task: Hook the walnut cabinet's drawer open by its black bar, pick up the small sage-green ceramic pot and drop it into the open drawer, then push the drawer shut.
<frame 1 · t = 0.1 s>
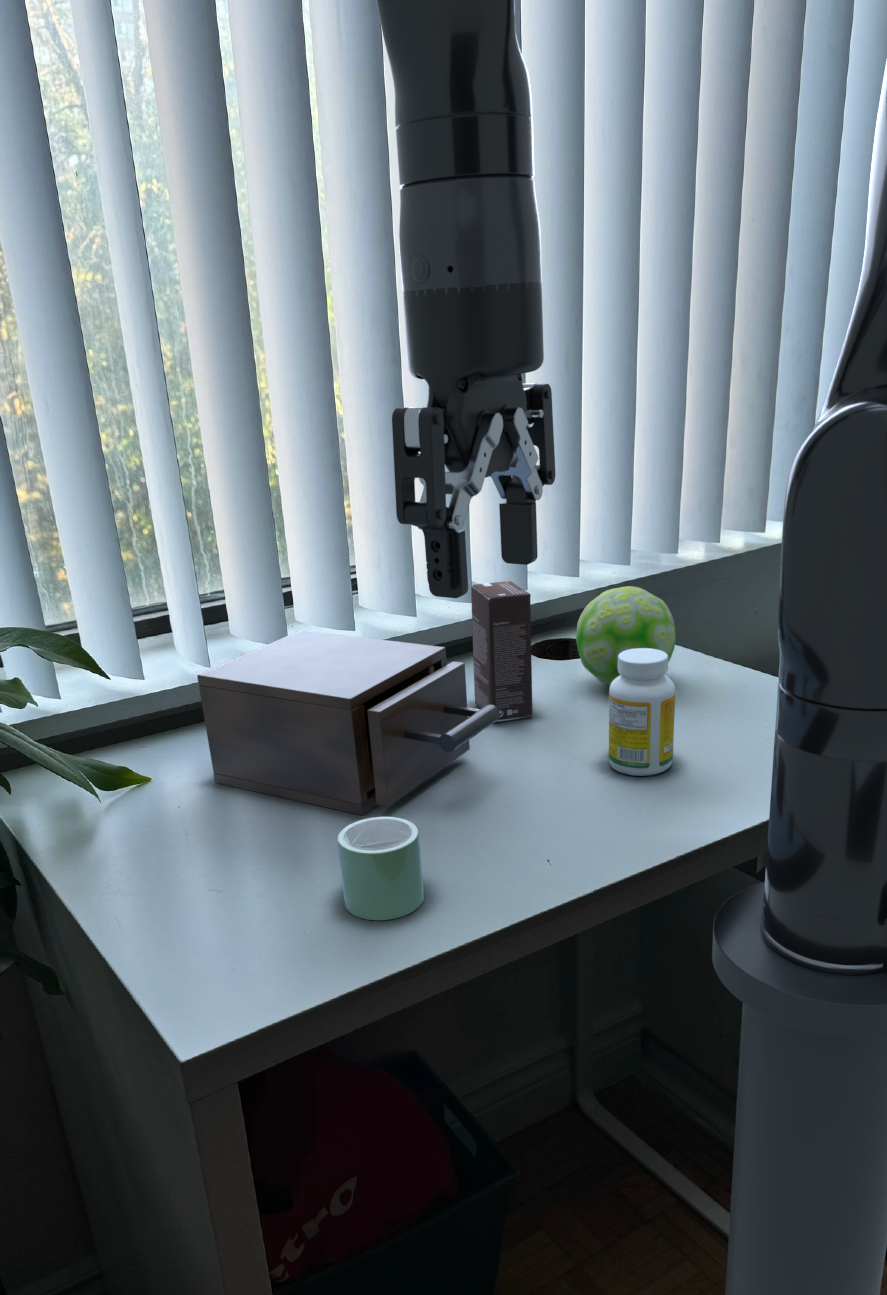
hand: (486, 578, 65), 21 cm above the table, tool pointing down, fingers open, 8 cm apart
box: (504, 712, 105), on the table
pot: (384, 899, 73), on the table
decorative ball: (626, 687, 109), on the table
supplement bottle: (640, 766, 91), on the table
drawer: (378, 723, 90), point 5 cm above the table, slide at 1.0 cm
cabinet: (335, 767, 95), on the table
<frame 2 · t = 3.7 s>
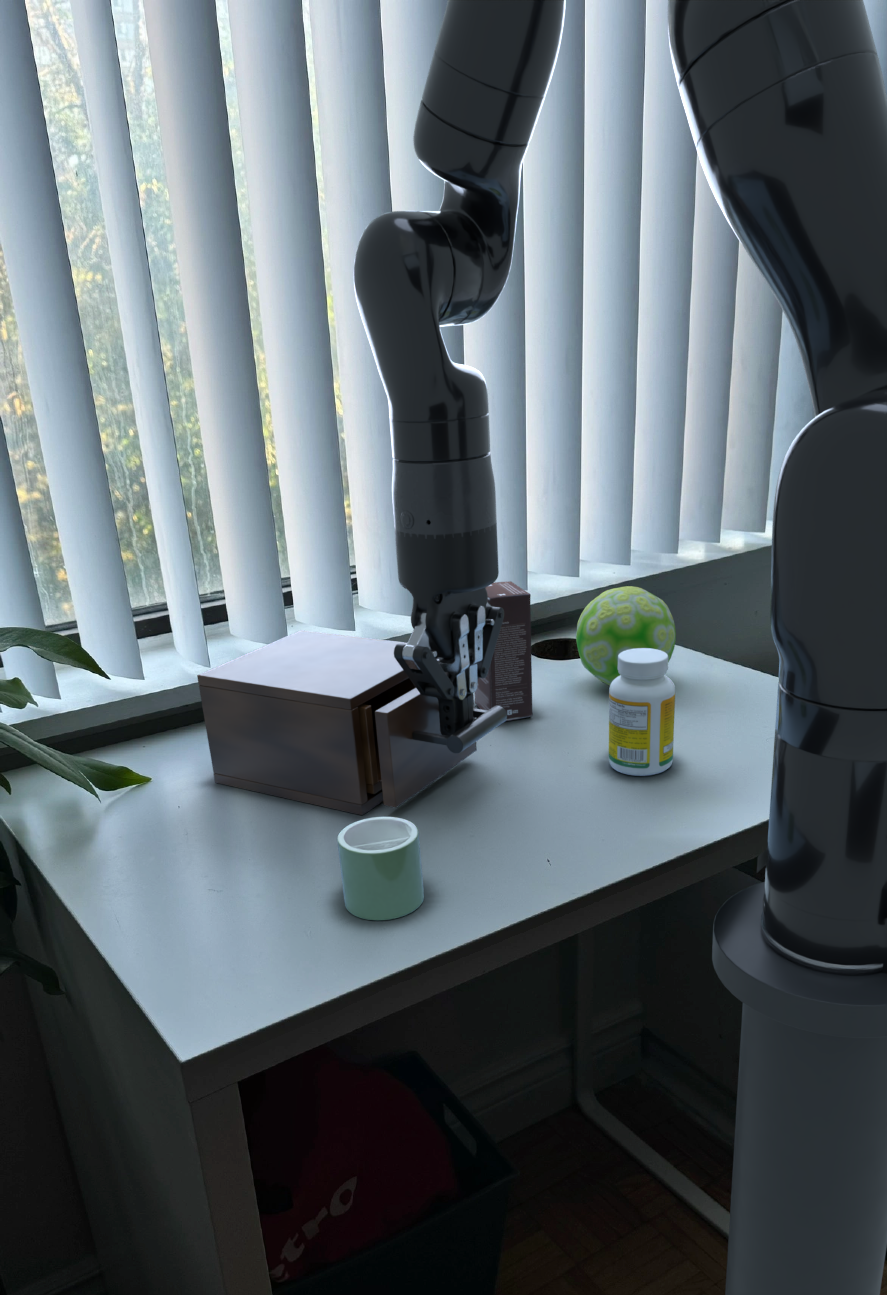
hand: (458, 738, 86), 5 cm above the table, tool pointing down, fingers closed
drawer: (385, 724, 90), point 5 cm above the table, slide at 1.7 cm
everything else where it was.
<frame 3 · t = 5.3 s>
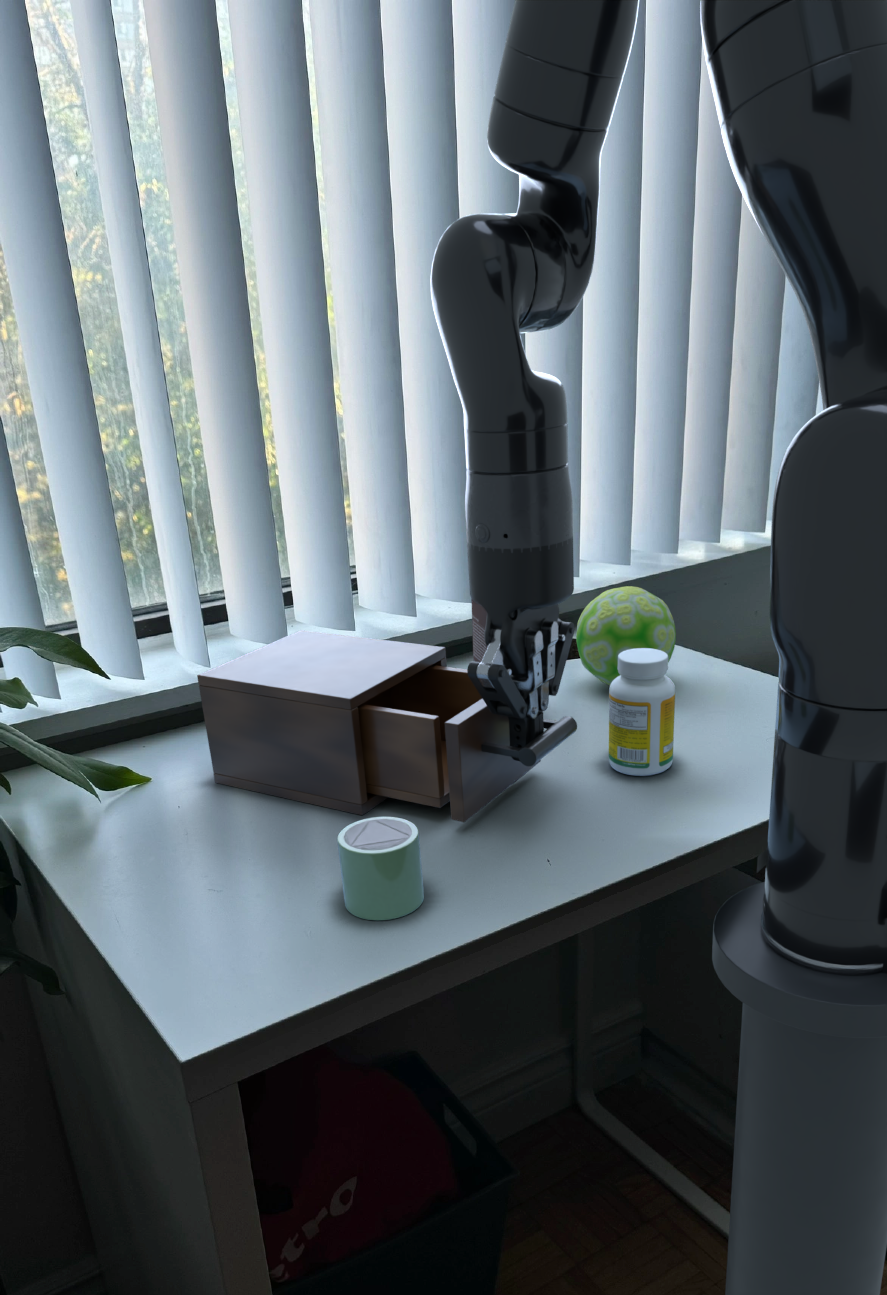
hand: (527, 758, 83), 4 cm above the table, tool pointing down, fingers closed
drawer: (449, 735, 86), point 5 cm above the table, slide at 7.9 cm
everything else where it was.
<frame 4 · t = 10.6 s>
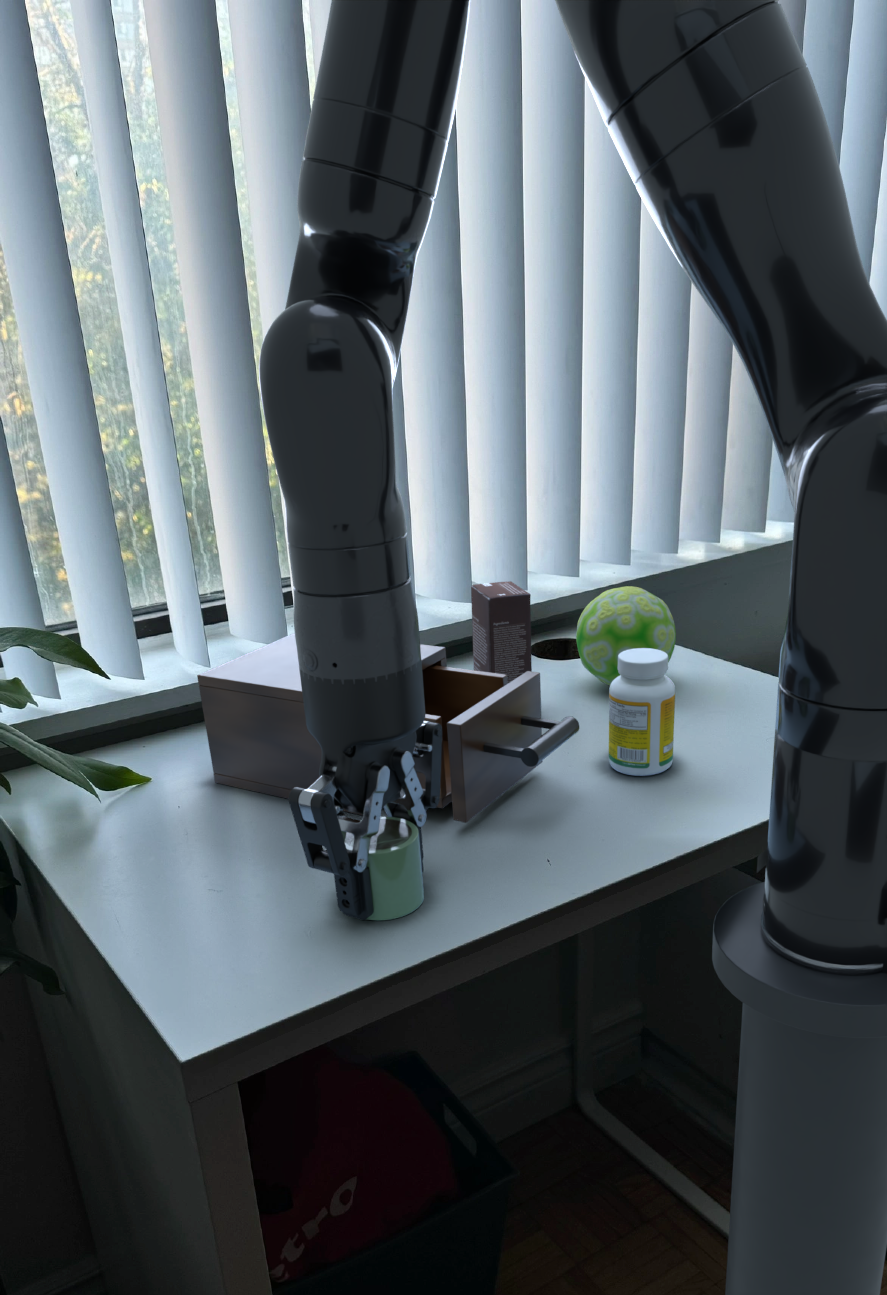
hand: (383, 893, 73), 0 cm above the table, tool pointing down, fingers closed on pot, 5 cm apart
pot: (384, 899, 73), on the table, touching gripper
everything else where it was.
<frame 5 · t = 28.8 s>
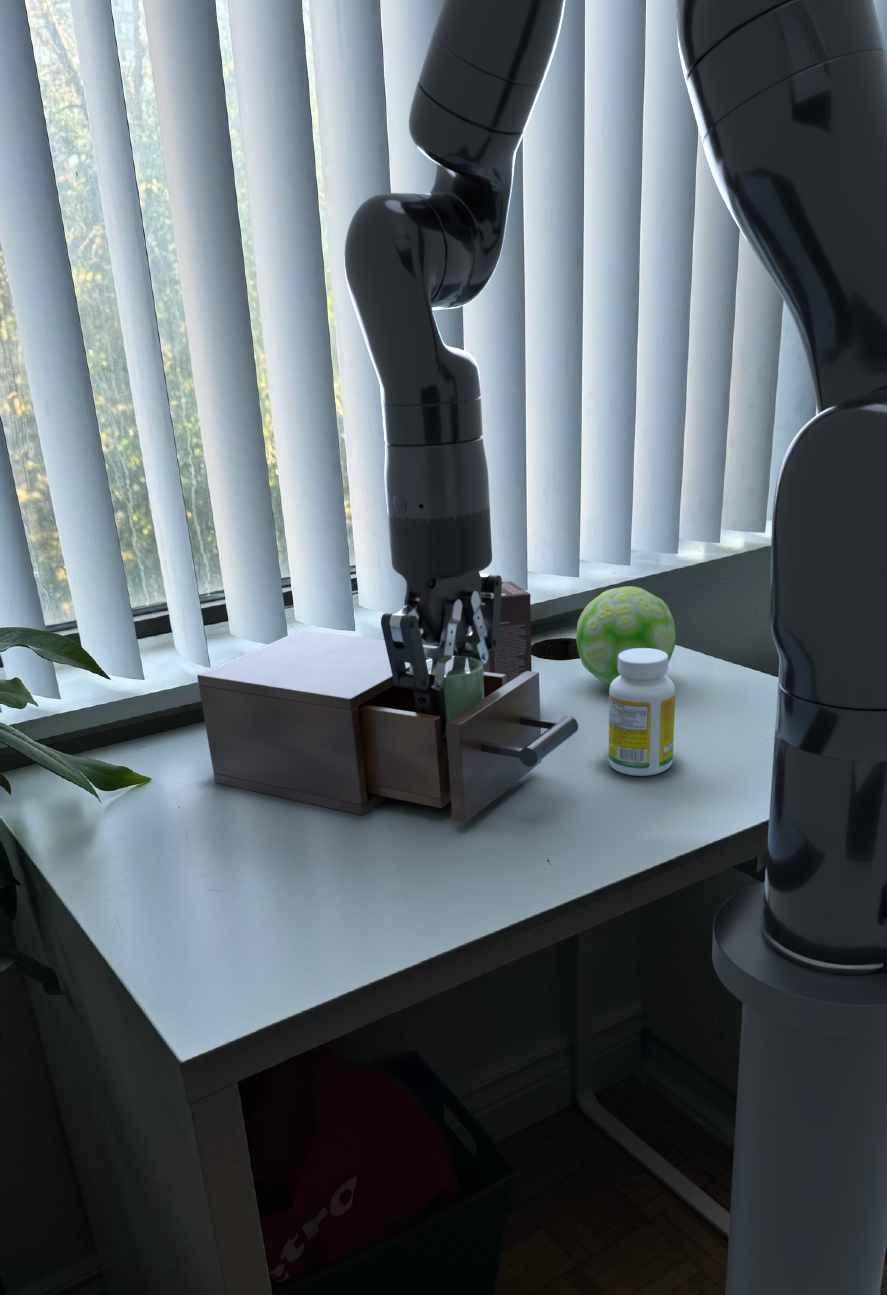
hand: (452, 719, 86), 6 cm above the table, tool pointing down, fingers closed on pot, 5 cm apart
pot: (452, 726, 86), point 6 cm above the table, touching gripper
everything else where it was.
when the fingers open (9 cm above the table, at t = 31.7 s): pot drops 6 cm, resting on drawer.
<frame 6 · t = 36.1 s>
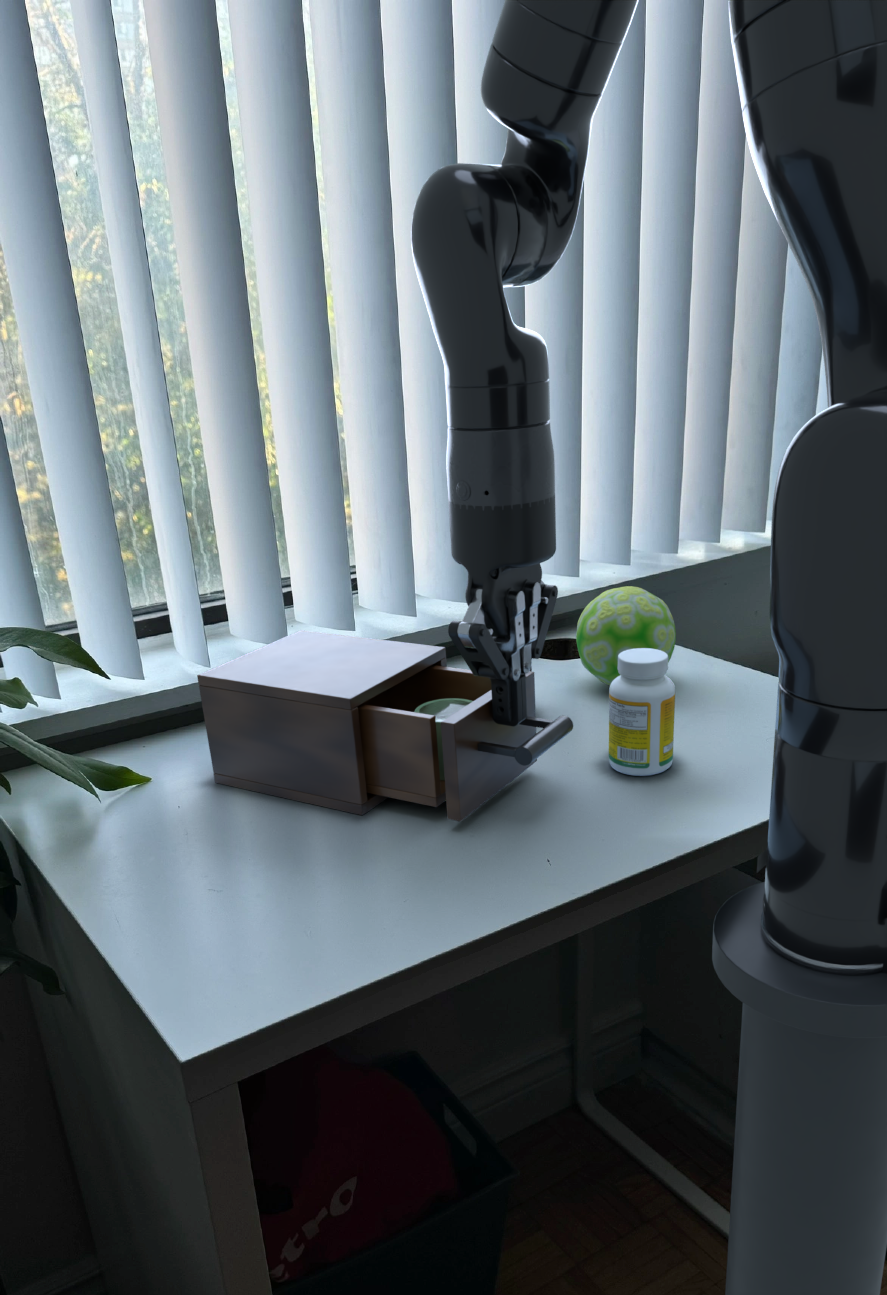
hand: (510, 721, 83), 7 cm above the table, tool pointing down, fingers closed
pot: (451, 767, 88), point 2 cm above the table, touching drawer
drawer: (445, 735, 87), point 5 cm above the table, slide at 7.6 cm, touching gripper, pot
everything else where it was.
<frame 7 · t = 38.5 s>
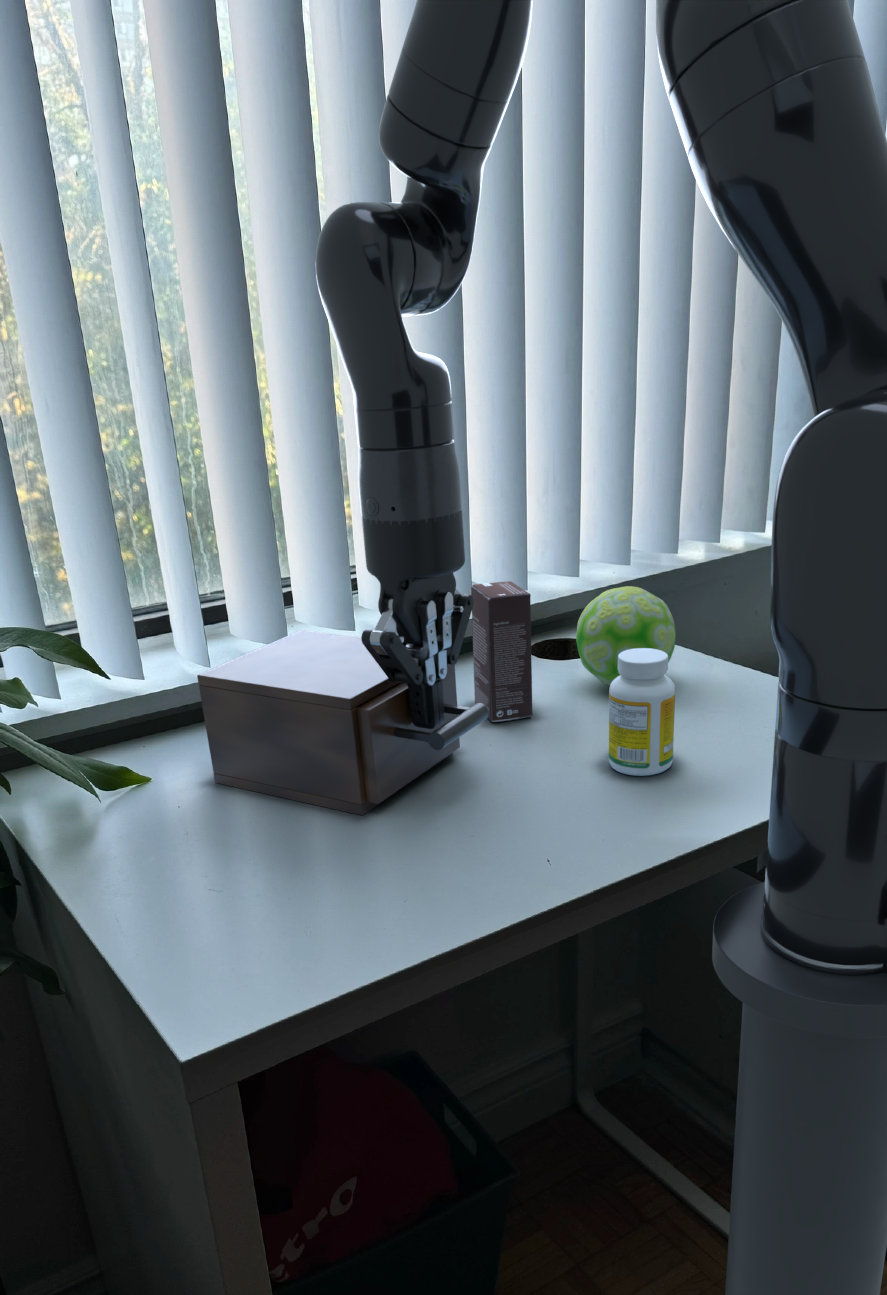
hand: (428, 724, 87), 6 cm above the table, tool pointing down, fingers closed
pot: (375, 753, 91), point 2 cm above the table, touching drawer
drawer: (368, 722, 90), point 5 cm above the table, slide at 0.0 cm, touching cabinet, pot
everything else where it was.
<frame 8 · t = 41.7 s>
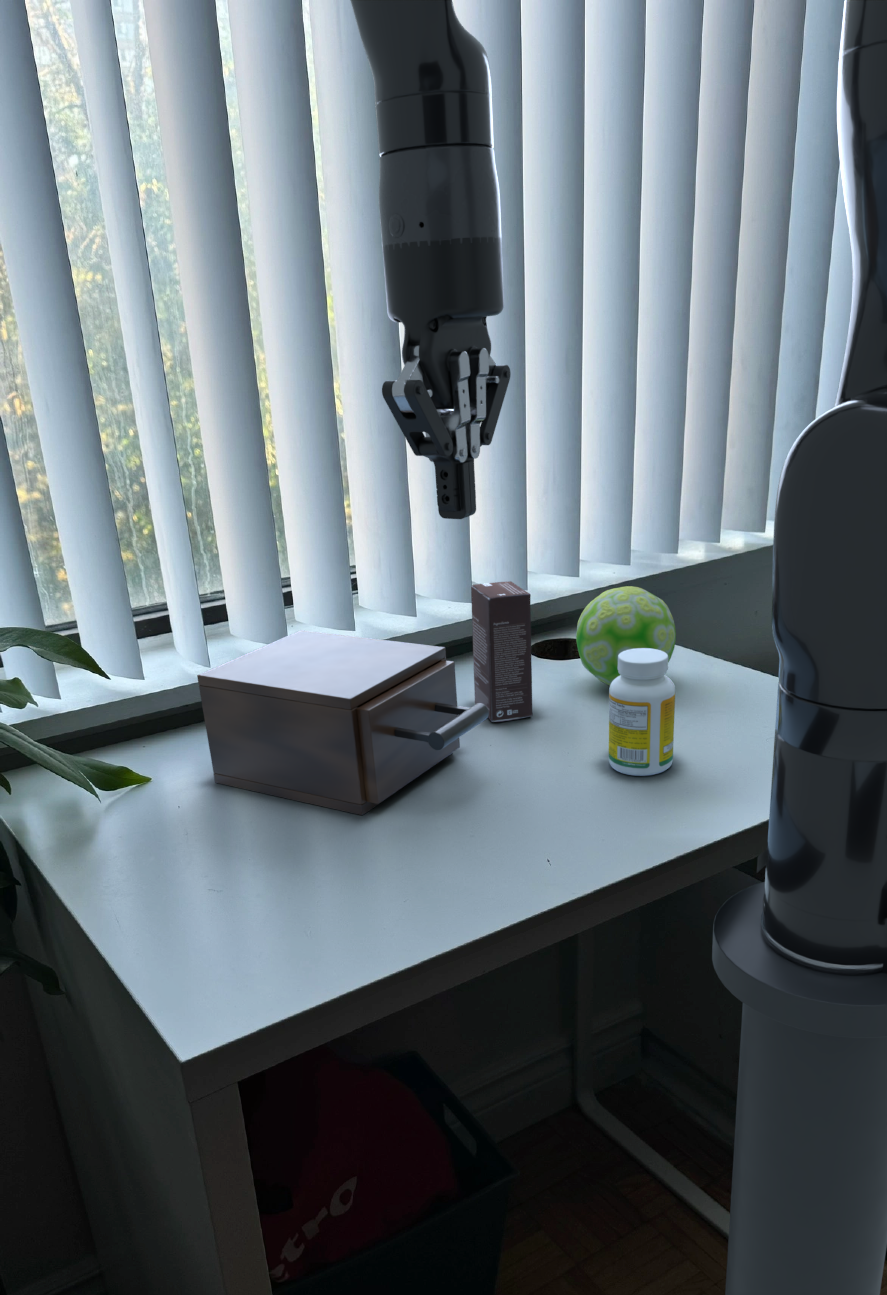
hand: (457, 516, 75), 23 cm above the table, tool pointing down, fingers closed
drawer: (368, 722, 90), point 5 cm above the table, slide at 0.0 cm, touching pot
everything else where it was.
at the end: drawer pulled out 8.1 cm at the most during the clip, back to where it started at the end; pot inside the target area in the cabinet (4.0 cm from its centre), point 2.1 cm above the cabinet's base; drawer slide at 0.0 cm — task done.
